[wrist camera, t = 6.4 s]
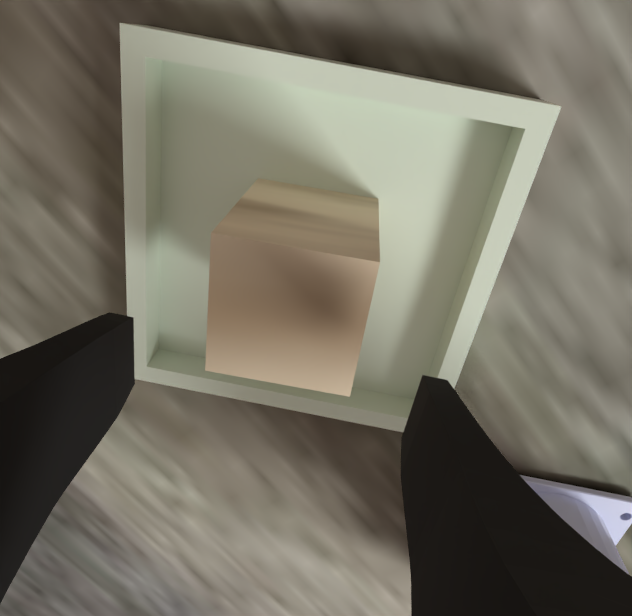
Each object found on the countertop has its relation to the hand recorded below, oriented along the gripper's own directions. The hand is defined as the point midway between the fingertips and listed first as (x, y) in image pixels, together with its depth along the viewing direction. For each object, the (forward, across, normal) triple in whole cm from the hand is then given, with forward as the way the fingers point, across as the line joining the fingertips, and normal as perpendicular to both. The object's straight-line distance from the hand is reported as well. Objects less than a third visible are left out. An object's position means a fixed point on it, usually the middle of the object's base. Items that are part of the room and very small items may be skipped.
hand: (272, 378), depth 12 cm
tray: (+9, 0, 0) cm, 9 cm away
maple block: (+8, 0, 0) cm, 8 cm away
